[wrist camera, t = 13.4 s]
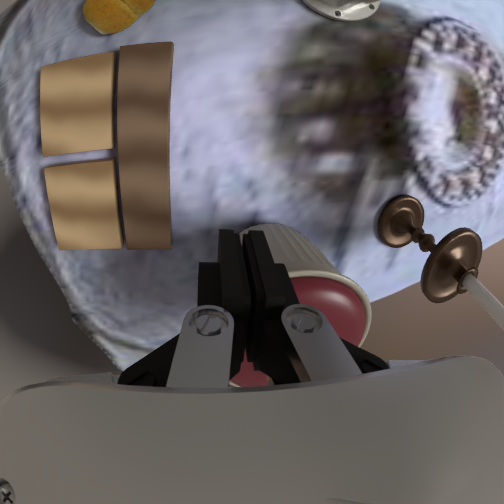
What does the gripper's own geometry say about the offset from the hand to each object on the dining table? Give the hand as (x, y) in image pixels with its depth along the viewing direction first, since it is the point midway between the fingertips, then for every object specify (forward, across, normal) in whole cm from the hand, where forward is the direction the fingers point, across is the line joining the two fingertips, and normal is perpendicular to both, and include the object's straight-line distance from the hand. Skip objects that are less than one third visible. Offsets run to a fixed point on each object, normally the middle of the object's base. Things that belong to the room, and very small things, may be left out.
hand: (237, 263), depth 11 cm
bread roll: (+27, +14, -19) cm, 35 cm away
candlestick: (+26, -29, +9) cm, 40 cm away
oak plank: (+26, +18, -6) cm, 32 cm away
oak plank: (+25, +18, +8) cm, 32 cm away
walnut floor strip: (+26, +9, +1) cm, 27 cm away
